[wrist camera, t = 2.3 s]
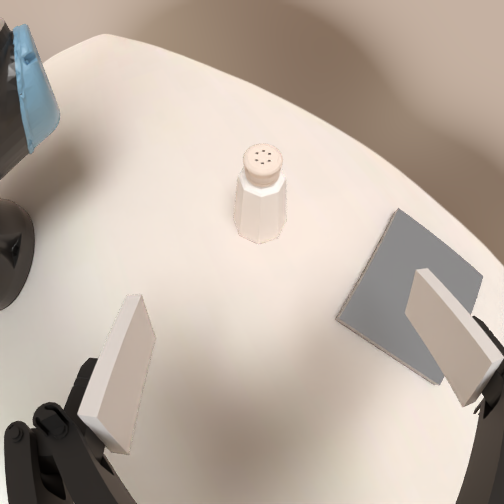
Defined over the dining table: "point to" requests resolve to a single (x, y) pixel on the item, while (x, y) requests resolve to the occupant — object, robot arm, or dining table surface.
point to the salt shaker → (261, 195)
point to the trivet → (405, 292)
